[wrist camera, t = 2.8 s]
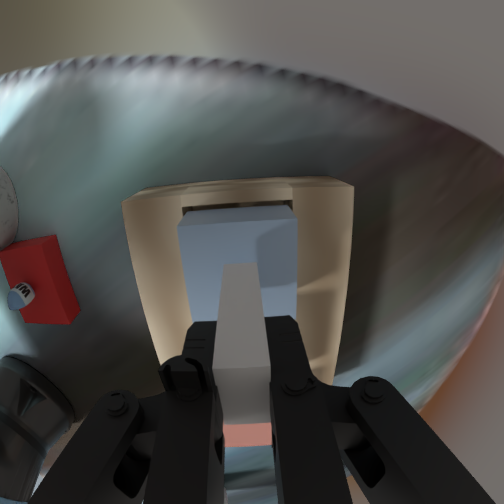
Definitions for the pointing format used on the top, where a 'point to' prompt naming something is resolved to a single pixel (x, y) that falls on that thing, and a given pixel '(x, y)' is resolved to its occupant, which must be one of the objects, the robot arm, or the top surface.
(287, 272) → the blue key
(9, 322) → the top surface
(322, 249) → the frame
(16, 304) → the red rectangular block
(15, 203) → the grey cylinder
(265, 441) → the red key
